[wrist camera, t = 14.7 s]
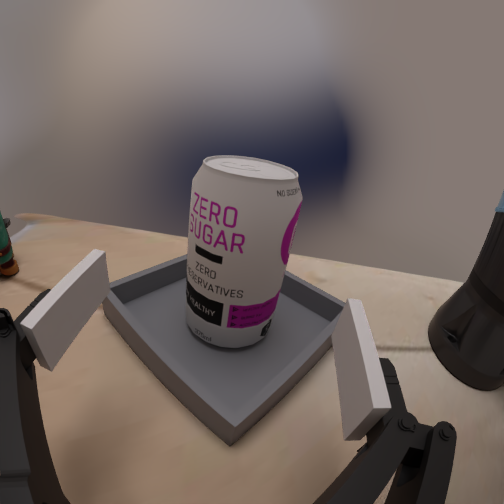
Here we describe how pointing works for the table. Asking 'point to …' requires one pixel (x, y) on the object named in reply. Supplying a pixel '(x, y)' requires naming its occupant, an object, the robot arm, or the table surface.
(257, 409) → the tray
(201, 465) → the table surface
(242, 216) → the supplement can
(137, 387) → the table surface
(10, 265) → the binoculars
